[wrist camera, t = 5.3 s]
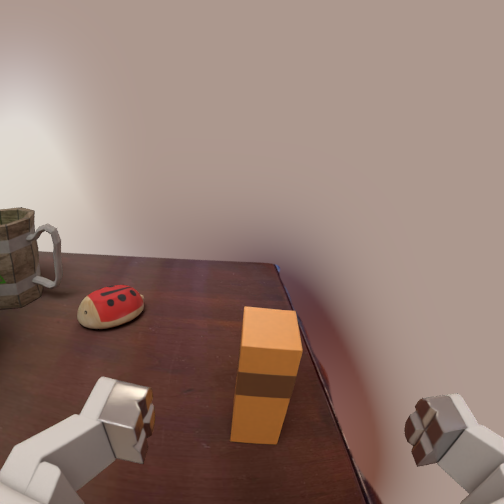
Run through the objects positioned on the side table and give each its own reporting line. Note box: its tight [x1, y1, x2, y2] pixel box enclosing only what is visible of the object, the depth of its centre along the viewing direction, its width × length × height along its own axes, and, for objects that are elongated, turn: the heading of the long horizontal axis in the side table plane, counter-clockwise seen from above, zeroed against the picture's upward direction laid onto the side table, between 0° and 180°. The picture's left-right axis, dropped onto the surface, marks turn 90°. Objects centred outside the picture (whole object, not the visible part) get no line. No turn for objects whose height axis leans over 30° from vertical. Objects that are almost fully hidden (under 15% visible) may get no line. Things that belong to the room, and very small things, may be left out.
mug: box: [0, 207, 63, 309], centre depth 37 cm, size 16×11×12 cm
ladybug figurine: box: [77, 285, 144, 329], centre depth 38 cm, size 7×10×4 cm
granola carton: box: [230, 307, 303, 444], centre depth 24 cm, size 5×4×11 cm
